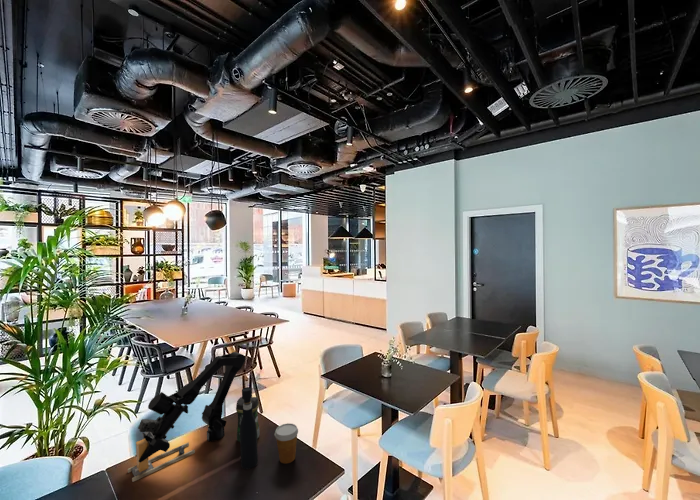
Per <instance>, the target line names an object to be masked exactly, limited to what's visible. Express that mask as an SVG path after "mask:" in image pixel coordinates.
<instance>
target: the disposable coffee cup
mask: <svg viewBox="0 0 700 500" xmlns="http://www.w3.org/2000/svg"><path fill="white" fill-rule="evenodd" d="M298 434H299V428H298V426H297V425H296V424H294V423H290V422H287V423H283V424H281V425H279V426H277V427H276V429H275V432H274V437H275V439H276V446H277V447H276V448H277V450H278V451H277V452H278V458H279V462H280V463H281V464H290V463H292V462H293V461H294V460H295V459H296V453H297V452H296V451H297V441H298V440H297V439H298Z"/></svg>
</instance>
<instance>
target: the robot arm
mask: <svg viewBox="0 0 700 500" xmlns="http://www.w3.org/2000/svg"><path fill="white" fill-rule="evenodd" d="M245 362H246V357H245V355H244V354H243V353H239V352H238V351H232V352H231V353H226V354H222V355H217V356H215V357H214V358H213V359H212V361H211V362H209V364H208V365H206V367H205V368H204V369H203V370H202V371H201V372H200V373H199V374H198V375H197V376H196V377H195V378H194V379H193V380H191V382H189V383H186V384H185V385H184V386H182V387H181V388H180V389H179V390H178V391H176V392H173V394H170V395H167V394H166V393H164V392H162V391H160V393H158V394H157V395H155V396H154V397H153V398H152V399H150V401H149V403H148V406H147V409H148V410H150V411H152V412H154V413H156V414H159V416H158V417H157V418H156V419H149V418H148V419H147V418H142V419H141V420H140V423H139V425H138V427H137V429H138V430H139V432H140V433H142V439H146V441H147V443H148V446H147V448H146V449H145V451H144V453H143V454H142V456H141V457H140V459H139V462H142V461H144V460H145V459H147V458H148V459H149V457H151V456H152V455H154V454H155V453H157V452H159V451H162V452H163V453H165V452H167V451H169V449H170V448H171V445H170V442H169V440H167V434H168V432H169V431H170V430H171V429H174V427H175V425H174V424H176V422H177V420H178V419H179V418H180V417H181V415H182V414H183V413H185V414H188V413H189V406H188V405H192V403H193V402H195V401H196V399H197V398H198V396H199V394H200V391H201V389H202V388H203V387H204V386H205V385H206V384H207V383H208V381H209V380H211V378H213V376H214V375H215V374H216V373H217V372H218V371H219V370H220V369H221V368H222V367H224V366H225V373H224V374H223V377H222V379H221V382H220V383H219V386H218V388H217V390H216V392H215V395H214V397H213V399H212V402H210V403H209V404H205V406H204V409H203V411H202V412H201V419H202V421H203V423H204V424H205V425H207V431H206V440H207V441H208V442H215V441H218V440H220V439H222V438H223V437H224V436H225V427H226V424H227V421H226V420H225V419H224V418H223V416H222V415H223V408H224V407H223V406H224V403H225V401H226V398H227V396H228V393H229V391H230V389H231V386H232V384H233V381H234V379H235V376H236V374H237V373H238V372H239V371H240V370H242V368H243V366H244V364H245ZM135 458H137V455H136V454H135Z"/></svg>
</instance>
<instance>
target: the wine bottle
mask: <svg viewBox="0 0 700 500" xmlns="http://www.w3.org/2000/svg"><path fill="white" fill-rule="evenodd" d="M241 397H242V399H244V404H243V417H242V421H241V425H240V442H239V443H240V444H239V445H240V467H241V468H242V469H244V470H248V469H252V468H254V467H256V466H257V465H258V463H259V460H258V457H259V456H258V439H257V426H256V421H255V418H254V416H253V409H252V404H251V399H250V398H251V397H253V389H252V387H251V386H249V387H248V386H247V387H243V388H242V389H241Z"/></svg>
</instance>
